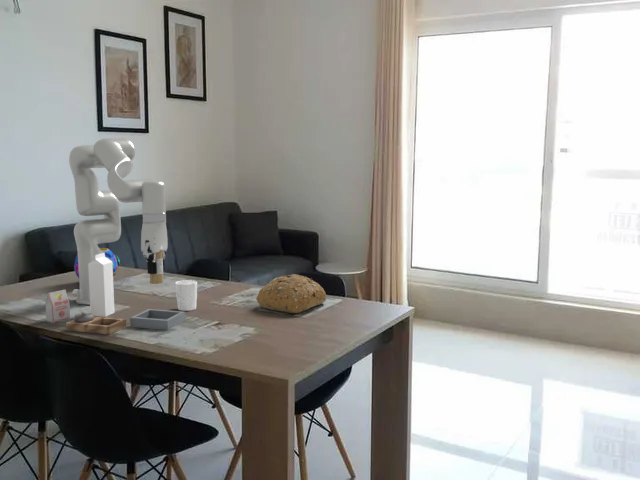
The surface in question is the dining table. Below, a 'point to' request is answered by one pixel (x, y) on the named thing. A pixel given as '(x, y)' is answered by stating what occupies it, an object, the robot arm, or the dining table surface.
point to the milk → (101, 286)
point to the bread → (291, 294)
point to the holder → (95, 324)
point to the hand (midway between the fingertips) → (156, 271)
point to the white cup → (186, 294)
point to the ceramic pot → (108, 255)
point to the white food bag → (57, 306)
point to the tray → (157, 319)
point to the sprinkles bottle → (158, 269)
